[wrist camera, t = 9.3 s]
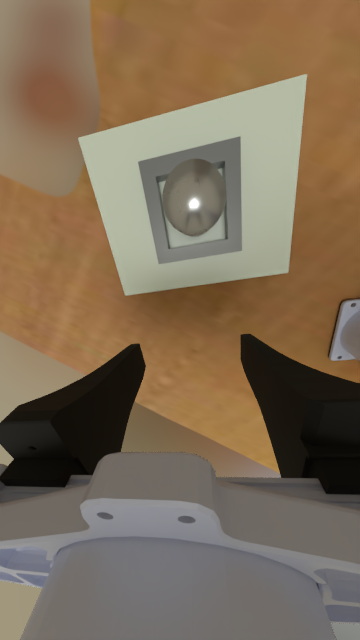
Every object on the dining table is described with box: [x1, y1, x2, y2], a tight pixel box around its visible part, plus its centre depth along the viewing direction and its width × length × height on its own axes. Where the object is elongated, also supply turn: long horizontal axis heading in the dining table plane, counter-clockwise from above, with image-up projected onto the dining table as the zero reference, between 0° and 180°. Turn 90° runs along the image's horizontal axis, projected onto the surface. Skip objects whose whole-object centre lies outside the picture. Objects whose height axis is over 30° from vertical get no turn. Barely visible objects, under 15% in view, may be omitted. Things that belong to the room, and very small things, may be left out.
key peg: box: [162, 158, 226, 237], centre depth 14 cm, size 4×4×6 cm
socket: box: [78, 74, 307, 296], centre depth 16 cm, size 18×14×2 cm
